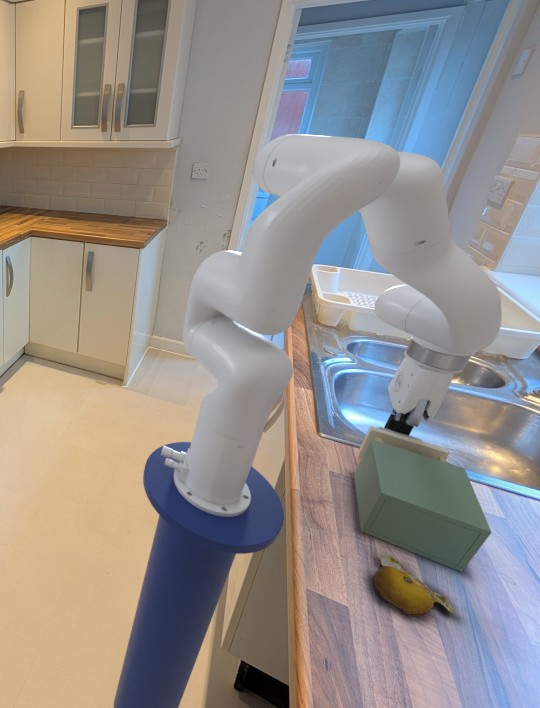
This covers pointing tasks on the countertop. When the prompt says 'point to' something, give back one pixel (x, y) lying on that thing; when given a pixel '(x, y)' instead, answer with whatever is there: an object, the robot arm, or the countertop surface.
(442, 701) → the countertop surface
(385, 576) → the fruit
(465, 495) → the cabinet
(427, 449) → the drawer
